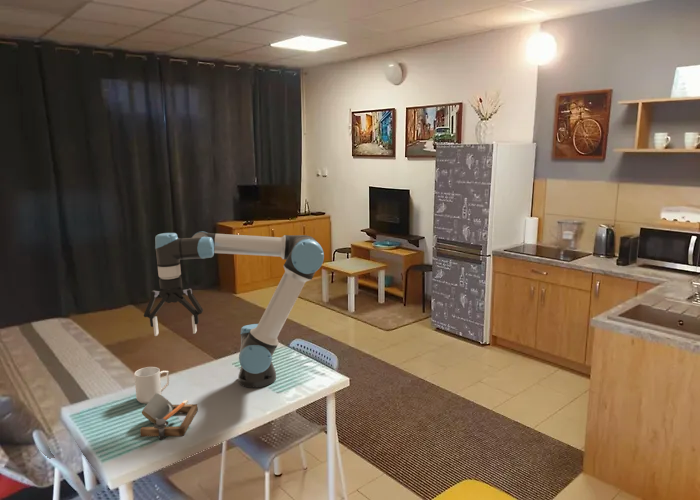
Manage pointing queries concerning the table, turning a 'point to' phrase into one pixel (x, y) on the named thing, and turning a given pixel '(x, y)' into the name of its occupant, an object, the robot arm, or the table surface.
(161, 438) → the dark grey ring
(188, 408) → the brown wooden flat frame
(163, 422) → the orange long spoon
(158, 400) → the ceramic mug
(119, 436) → the table surface
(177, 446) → the table surface
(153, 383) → the mug
